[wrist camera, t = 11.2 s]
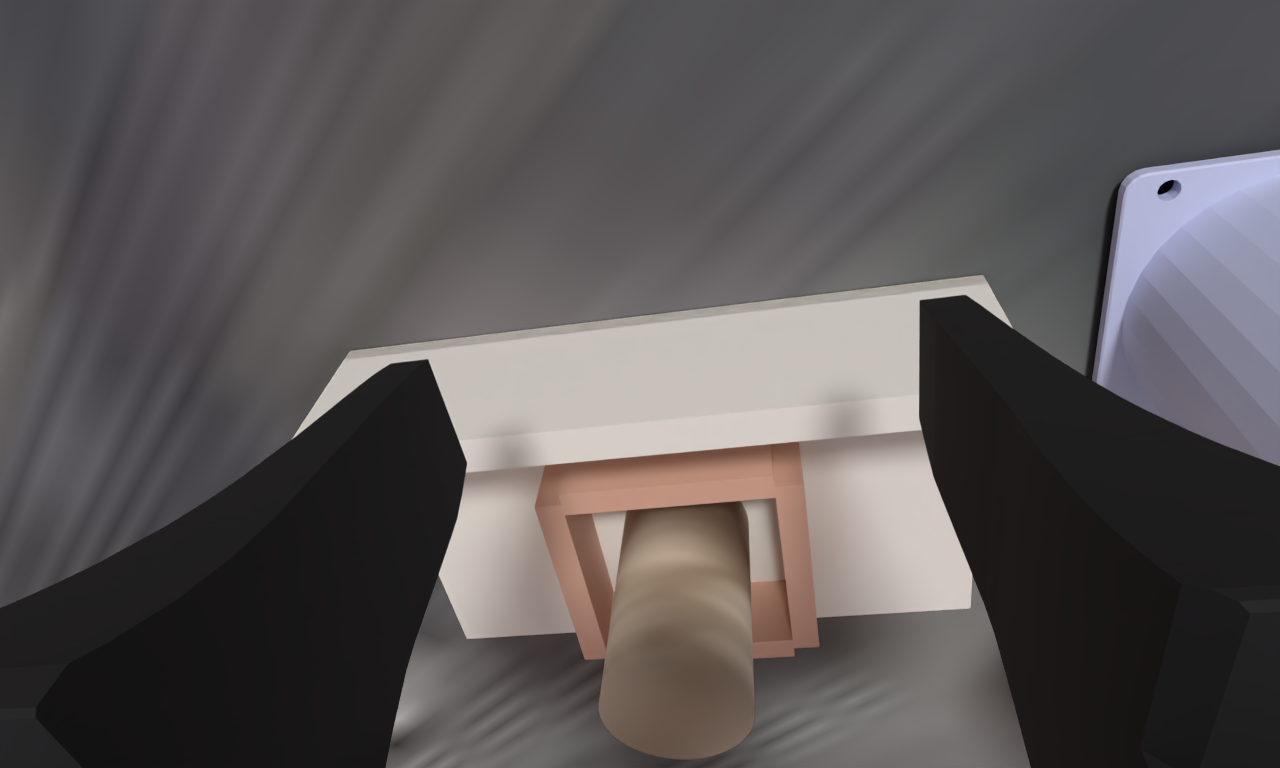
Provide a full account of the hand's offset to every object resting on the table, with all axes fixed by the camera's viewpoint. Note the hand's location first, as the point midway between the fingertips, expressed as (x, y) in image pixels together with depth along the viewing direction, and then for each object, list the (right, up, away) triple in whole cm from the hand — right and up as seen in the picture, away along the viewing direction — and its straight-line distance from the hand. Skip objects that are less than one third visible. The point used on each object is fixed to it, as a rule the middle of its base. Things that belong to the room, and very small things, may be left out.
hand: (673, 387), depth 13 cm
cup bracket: (+1, -3, +15) cm, 15 cm away
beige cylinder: (+1, -5, +15) cm, 16 cm away
